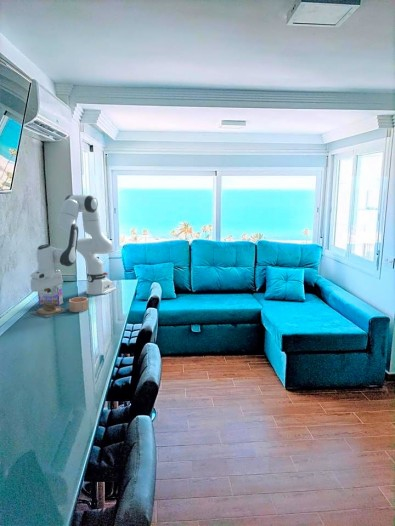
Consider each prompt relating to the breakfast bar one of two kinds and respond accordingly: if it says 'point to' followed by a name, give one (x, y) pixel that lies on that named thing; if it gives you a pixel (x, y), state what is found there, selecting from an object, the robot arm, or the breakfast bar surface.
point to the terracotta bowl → (78, 304)
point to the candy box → (51, 296)
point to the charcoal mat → (48, 315)
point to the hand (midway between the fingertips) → (48, 294)
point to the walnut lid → (49, 309)
